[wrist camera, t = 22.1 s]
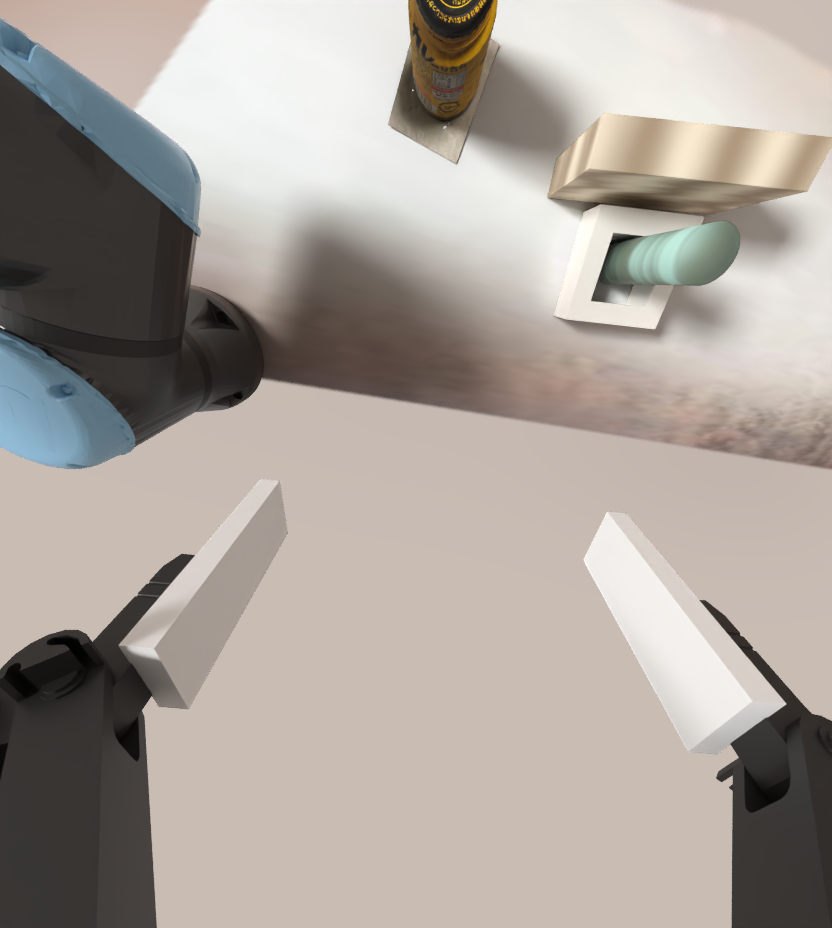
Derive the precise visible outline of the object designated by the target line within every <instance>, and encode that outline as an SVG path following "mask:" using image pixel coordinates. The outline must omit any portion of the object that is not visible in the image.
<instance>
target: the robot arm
mask: <svg viewBox="0 0 832 928" xmlns="http://www.w3.org/2000/svg"><path fill="white" fill-rule="evenodd" d="M200 195H201V181H200V177H199V174H198V171H197V169H196V167H195V165H194V163H193V161H192V160H191V158H190V157H189V156H188V154H187V153H186V152H185V151H184V150H183V149H182V148H181V147H180V146H179V145H178V144H177V143H175V142H174V141H173V140H172V139H170V138H169V137H168V136H166V135H165V134H164V133H163V132H161V131H160V130H159V129H157V128H156V127H155V126H153V125H152V124H151V123H149V122H148V121H147V120H145V119H144V118H143V117H141V116H140V115H138V114H137V113H136V112H134V111H133V110H132V109H130V108H129V107H128V106H126V105H125V104H123V103H122V102H121V101H119V100H118V99H116V98H115V97H114V96H112V95H111V94H110V93H108V92H107V91H105V90H104V89H103V88H101V87H100V86H98V85H97V84H95V83H94V82H93V81H91V80H90V79H89V78H87V77H86V76H84V75H83V74H82V73H80V72H78V71H77V70H76V69H75V68H73V67H72V66H70V65H69V64H68V63H66V62H64V61H63V60H62V59H60V58H59V57H57V56H56V55H54V54H53V53H52V52H50V51H49V50H47V49H46V48H44V47H43V46H42V45H40V44H38V43H36V42H34V41H33V40H31V39H30V38H29V37H28V36H26V34H24V33H23V32H21V31H20V30H18V29H17V28H15V27H14V26H12V25H11V24H10V23H8V22H7V21H5V20H4V19H2V18H1V17H0V447H1V448H3V449H5V450H7V451H9V452H11V453H13V454H15V455H18V456H20V457H23V458H25V459H28V460H30V461H33V462H36V463H39V464H43V465H47V466H51V467H57V468H64V469H82V468H87V467H92V466H95V465H99V464H101V463H103V462H105V461H107V460H109V459H111V458H114V457H116V456H118V455H123V454H126V453H129V452H130V451H131V450H132V449H133V448H134V447H136V446H137V445H139V444H141V443H142V442H144V441H146V440H148V439H149V438H151V437H153V436H154V435H156V434H158V433H160V432H161V431H163V430H165V429H166V428H168V427H170V426H172V425H174V424H175V423H177V422H179V421H180V420H182V419H184V418H186V417H187V416H189V415H191V414H193V413H194V412H202V411H215V410H224V409H228V408H231V407H234V406H236V405H238V404H239V403H241V402H242V401H244V400H246V399H247V398H249V397H250V396H251V395H252V394H253V393H254V392H255V390H256V389H257V387H258V385H259V383H260V381H261V377H262V373H263V357H262V351H261V348H260V344H259V342H258V339H257V337H256V335H255V333H254V331H253V329H252V327H251V326H250V324H249V323H248V321H247V320H246V319H245V318H244V316H243V315H242V314H241V313H240V312H239V311H238V310H237V309H236V308H235V307H234V306H233V305H232V304H231V303H229V302H228V301H227V300H225V299H224V298H222V297H221V296H219V295H218V294H216V293H214V292H212V291H209V290H207V289H204V288H201V287H197V286H192V285H191V277H192V270H193V263H194V255H195V248H196V240H197V236H198V237H200V234H201V231H200V228H199V226H198V219H199V207H200ZM287 534H288V532H287V525H286V519H285V512H284V506H283V499H282V493H281V486H280V481H276V480H275V481H274V480H265V479H260V480H259V481H258V482H257V484H256V485H255V486H254V487H253V488H252V489H251V491H250V492H249V493H248V494H247V495H246V496H245V498H244V499H243V500H242V501H241V502H240V503H239V505H238V506H237V507H236V508H235V509H234V511H233V512H232V513H231V514H230V515H229V516H228V518H227V519H226V520H225V521H224V522H223V523H222V525H221V526H220V527H219V528H218V529H217V530H216V532H215V533H214V534H213V535H212V536H211V538H210V539H209V540H208V541H207V542H206V543H205V544H204V546H203V547H202V548H201V549H200V550H199V552H198V553H197V554H196V555H187V554H181V555H179V556H178V557H176V558H175V559H173V560H172V561H170V562H169V563H167V564H166V565H164V566H163V567H162V568H161V569H160V570H159V571H158V573H156V574H155V576H154V577H153V578H152V579H151V580H150V582H149V584H146V585H145V586H144V587H143V588H142V590H141V591H140V592H139V593H138V596H137V597H134V598H133V599H132V600H131V601H130V602H129V603H128V605H127V606H126V607H125V608H124V609H123V610H122V611H121V612H120V613H119V614H118V615H117V616H116V618H114V619H113V621H112V622H111V623H110V624H109V625H108V626H107V627H106V628H105V629H104V630H103V631H102V632H101V634H100V635H99V636H98V637H97V638H96V639H95V640H94V641H93V642H92V641H91V640H90V638H89V637H88V636H87V634H85V633H83V632H81V631H79V630H64V631H60V632H57V633H53V634H50V635H47V636H45V637H43V638H41V639H39V640H37V641H35V642H33V643H31V644H30V645H28V646H26V647H25V648H24V649H22V650H21V651H19V652H18V653H16V654H15V655H14V656H13V657H12V658H11V659H10V660H9V661H8V662H7V663H6V664H5V665H4V666H3V667H2V668H1V669H0V928H157V927H156V926H157V925H156V909H155V891H154V874H153V858H152V841H151V824H150V806H149V789H148V773H147V772H148V771H147V755H146V738H145V720H144V715H143V712H142V709H143V708H144V706H145V705H146V703H147V702H148V700H149V699H150V697H151V696H152V697H153V698H154V700H155V701H156V703H157V704H158V706H159V707H168V708H180V709H189V707H190V706H191V704H192V702H193V701H194V699H195V697H196V695H197V693H198V692H199V690H200V688H201V686H202V685H203V683H204V681H205V679H206V677H207V676H208V674H209V672H210V670H211V668H212V667H213V665H214V663H215V661H216V660H217V658H218V656H219V654H220V653H221V651H222V649H223V647H224V645H225V644H226V642H227V640H228V638H229V637H230V635H231V633H232V631H233V629H234V628H235V626H236V624H237V622H238V621H239V619H240V617H241V615H242V613H243V612H244V610H245V608H246V606H247V605H248V603H249V601H250V599H251V598H252V596H253V594H254V592H255V590H256V589H257V587H258V585H259V583H260V582H261V580H262V578H263V576H264V574H265V573H266V571H267V569H268V567H269V566H270V564H271V562H272V560H273V558H274V556H275V555H276V553H277V551H278V550H279V547H280V546H281V544H282V542H283V541H284V539H285V537H286V535H287ZM583 561H584V563H585V565H586V566H587V568H588V570H589V572H590V574H591V576H592V577H593V579H594V581H595V583H596V585H597V587H598V588H599V590H600V592H601V594H602V596H603V598H604V599H605V601H606V603H607V605H608V607H609V609H610V610H611V612H612V614H613V616H614V618H615V619H616V621H617V623H618V625H619V627H620V629H621V630H622V632H623V634H624V636H625V638H626V640H627V641H628V643H629V645H630V647H631V649H632V651H633V652H634V654H635V656H636V658H637V660H638V661H639V663H640V665H641V667H642V669H643V671H644V672H645V674H646V676H647V678H648V679H649V682H650V683H651V685H652V687H653V689H654V691H655V693H656V695H657V696H658V698H659V700H660V702H661V704H662V705H663V707H664V709H665V711H666V713H667V715H668V716H669V718H670V720H671V722H672V724H673V726H674V727H675V729H676V731H677V733H678V735H679V737H680V738H681V740H682V742H683V744H684V746H685V748H686V749H687V751H688V752H694V753H706V754H718V753H719V752H721V751H722V750H723V749H725V748H726V747H728V746H729V745H730V744H731V746H732V747H733V749H734V750H735V752H736V753H737V755H738V757H739V758H738V759H737V760H735V761H734V762H732V763H730V764H729V765H727V766H726V767H725V768H723V769H721V770H720V771H719V772H718V774H717V777H716V778H717V779H718V780H719V781H721V782H723V781H724V780H726V779H727V778H729V777H731V776H732V775H733V785H731V786H730V787H729V788H730V789H731V790H732V791H733V830H732V834H733V835H732V843H733V844H732V928H832V721H830V720H828V719H826V718H824V717H822V716H819V715H814V714H811V712H810V711H808V709H807V708H806V707H805V706H804V705H803V704H802V703H801V702H800V701H799V700H798V698H796V696H795V695H794V694H793V693H792V691H791V690H790V689H789V688H788V687H787V686H786V685H785V684H784V683H783V681H782V680H781V679H780V678H779V677H778V676H777V675H776V674H775V672H774V671H773V670H772V669H771V668H770V666H769V665H768V664H767V663H766V662H765V661H764V660H763V659H762V657H761V656H760V655H759V654H758V653H757V652H756V651H753V649H752V648H753V647H752V646H751V645H750V644H749V643H748V641H747V640H746V639H745V638H744V637H742V636H740V632H739V631H738V630H737V629H736V628H735V627H734V625H733V624H732V623H731V622H730V621H729V620H728V619H727V618H726V616H725V615H723V614H722V613H721V612H719V611H718V610H717V609H716V608H714V607H713V606H712V605H711V604H709V603H708V602H707V601H704V600H699V599H698V598H697V597H696V596H695V595H694V594H693V592H692V591H691V590H690V589H689V587H688V586H687V585H686V584H685V583H684V582H683V580H682V579H681V578H680V577H679V576H678V574H677V573H676V572H675V571H674V570H673V568H672V567H671V566H670V565H669V564H668V563H667V562H666V560H665V559H664V558H663V557H662V556H661V554H660V553H659V552H658V551H657V549H656V548H655V547H654V546H653V545H652V544H651V542H650V541H649V540H648V539H647V538H646V536H645V535H644V534H643V533H642V532H641V530H640V529H639V528H638V527H637V526H636V524H635V523H634V522H633V521H632V520H631V519H630V517H629V516H628V515H627V514H626V513H618V512H607V513H606V515H605V517H604V519H603V521H602V523H601V525H600V527H599V529H598V531H597V534H596V535H595V537H594V539H593V541H592V543H591V545H590V548H589V549H588V551H587V553H586V555H585V557H584V559H583Z"/></svg>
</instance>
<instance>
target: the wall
mask: <svg viewBox="0 0 832 928" xmlns="http://www.w3.org/2000/svg"><path fill="white" fill-rule="evenodd" d="M831 147H832V137H824V136H815V135H805V134H796V133H787V132H777V131H768V130H759V129H749V128H740V127H730V126H721V125H712V124H702V123H693V122H684V121H674V120H665V119H656V118H646V117H637V116H628V115H618V114H609V113H604V114H603V115H602V116H601V117H600V118H599V119H598V120H597V121H596V122H595V123H593V124H592V125H591V126H590V127H589V128H588V129H587V130H586V131H585V132H584V133H583V134H582V135H581V136H580V137H579V138H578V139H577V140H576V141H575V142H574V143H573V144H572V145H571V146H570V147H568V148H567V149H566V150H565V151H564V152H563V153H562V154H561V155H560V156H559V157H558V158H557V159H556V163H555V168H554V172H553V176H552V181H551V185H550V190H549V194H548V198H555V199H565V200H574V201H584V202H594V203H603V204H613V205H623V206H632V207H642V208H651V209H661V210H671V211H680V212H690V213H700V214H713V213H717V212H722V211H726V210H730V209H734V208H739V207H743V206H747V205H751V204H756V203H760V202H764V201H768V200H773V199H777V198H781V197H785V196H790V195H794V194H798V193H802V192H807V191H808V189H809V187H810V186H811V184H812V182H813V180H814V178H815V176H816V175H817V173H818V171H819V169H820V167H821V165H822V164H823V162H824V160H825V158H826V156H827V154H828V153H829V151H830V149H831Z"/></svg>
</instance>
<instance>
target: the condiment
mask: <svg viewBox="0 0 832 928" xmlns="http://www.w3.org/2000/svg"><path fill="white" fill-rule="evenodd" d="M408 9H409V24H410V36H411V43H410V46H409V50H408V54H407V58H406V61H405V64H404V68H403V72H402V75H401V79H400V83H399V87H398V90H397V94H396V98H395V102H394V105H393V109H392V112H391V116H390V120H389V123H388V125H389V126H391V127H393V128H395V129H396V130H398V131H399V132H401V133H403V134H404V135H406V136H408V137H410V138H411V139H413V140H415V141H416V142H418V143H420V144H422V145H424V146H425V147H427V148H429V149H430V150H432V151H434V152H436V153H438V154H440V155H441V156H443V157H445V158H447V159H449V160H450V161H452V162H454V163H457V160H458V157H459V155H460V152H461V149H462V146H463V144H464V141H465V138H466V135H467V132H468V130H469V127H470V124H471V121H472V119H473V116H474V113H475V110H476V108H477V105H478V102H479V99H480V97H481V94H482V91H483V88H484V86H485V83H486V80H487V77H488V75H489V72H490V69H491V66H492V64H493V61H494V58H495V55H496V53H497V50H498V47H499V44H498V43H497V42H495V41H494V40H492V39H490V38H491V33H492V30H493V25H494V22H495V18H496V9H497V0H409V2H408ZM412 89H414V91H413V92H412ZM449 122H450V123H451V124H450V125H449V126H448V125H447V124H448V123H449ZM445 125H447V127H446V128H445V129H443V127H444V126H445Z"/></svg>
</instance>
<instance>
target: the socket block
mask: <svg viewBox="0 0 832 928" xmlns="http://www.w3.org/2000/svg"><path fill="white" fill-rule="evenodd" d="M704 218H705V216H697V215H689V214H680V213H672V212H663V211H655V210H646V209H638V208H629V207H621V206H613V205H604V204H600V205H598V206H596V207H594V208H591V209H589V210H587V211H585V212H583V216H582V219H581V223H580V226H579V230H578V233H577V236H576V240H575V243H574V247H573V250H572V254H571V257H570V261H569V264H568V268H567V271H566V275H565V278H564V282H563V285H562V289H561V292H560V296H559V299H558V303H557V306H556V310H555V313H554V316H556V317H559V318H563V319H567V320H576V321H585V322H594V323H603V324H612V325H621V326H630V327H639V328H648V329H655V328H656V326H657V324H658V322H659V319H660V317H661V315H662V313H663V310H664V308H665V306H666V304H667V301H668V299H669V297H670V294H671V292H672V290H673V288H674V285H633V287H632V290H631V293H630V295H629V298H628V300H627V303H626V305H623V304H614V303H605V302H596V301H591V298H592V295H593V292H594V289H595V286H596V283H597V280H598V277H599V274H600V271H601V268H602V265H603V262H604V259H605V256H606V253H607V250H608V247H609V244H610V241H611V239H614V240H622V241H626V240H630V239H635V238H640V237H645V236H650V235H654V234H659V233H664V232H669V231H674V230H678V229H683V228H688V227H693V226H698V225H701V224H702V222H703V220H704Z"/></svg>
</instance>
